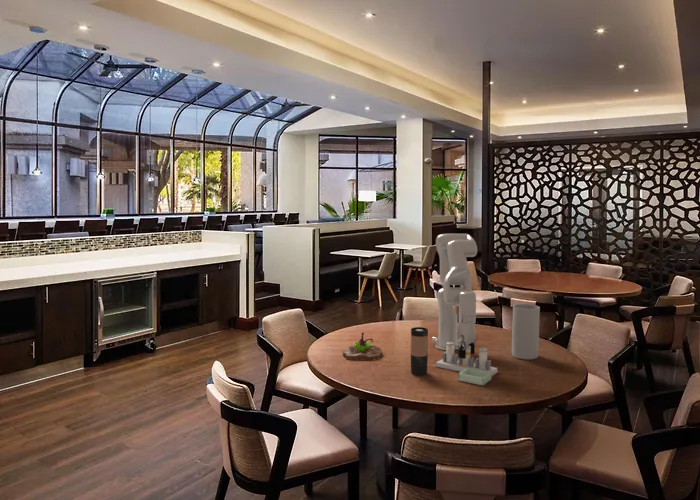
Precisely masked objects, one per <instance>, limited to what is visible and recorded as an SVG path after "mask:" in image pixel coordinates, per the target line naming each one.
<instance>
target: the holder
mask: <svg viewBox="0 0 700 500" xmlns="http://www.w3.org/2000/svg"><path fill="white" fill-rule="evenodd" d="M435 367H437V368H442V369H446V370H451V371H454V372H455V371H456V372H458V373H460V372H462V371H463V370H465V369H467V368H470V369H475V370H480V371H485V372H490V373H492V377H493V376H494V375H495V374H497V373H498V367H494V366H492V360H491V359H489V360H488V359H487V369H486V370H481V369H479V357H477V358H475V357H474V356H470V366H463V365H462V358H459V353H454V356H453V363H447V362H446V351H444V352H442V358H441V359H440V360H438V361H436V362H435Z"/></svg>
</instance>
